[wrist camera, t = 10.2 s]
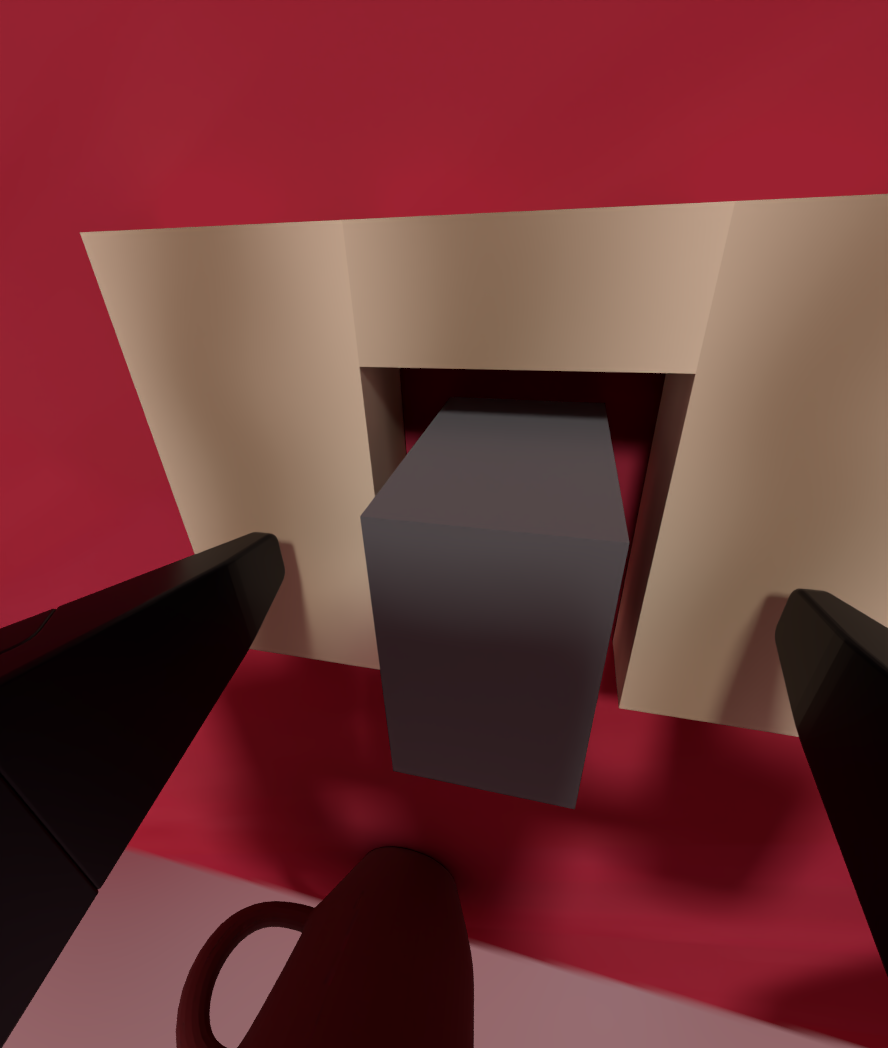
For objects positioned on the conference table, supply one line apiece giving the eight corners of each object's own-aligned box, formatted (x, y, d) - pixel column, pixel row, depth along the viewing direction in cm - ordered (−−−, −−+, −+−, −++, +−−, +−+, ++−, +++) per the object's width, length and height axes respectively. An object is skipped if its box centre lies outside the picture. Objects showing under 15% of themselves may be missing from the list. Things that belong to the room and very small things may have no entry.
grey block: (604, 402, 9) (629, 543, 5) (574, 604, 12) (574, 809, 8) (451, 396, 10) (360, 516, 6) (454, 590, 12) (392, 770, 8)
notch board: (1065, 192, 6) (1235, 177, 5) (819, 669, 11) (863, 746, 9) (168, 232, 9) (79, 232, 8) (268, 595, 14) (227, 644, 12)
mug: (280, 870, 24) (122, 1212, 16) (260, 778, 20) (28, 1182, 11) (490, 937, 22) (440, 1358, 14) (519, 853, 18) (471, 1387, 10)
